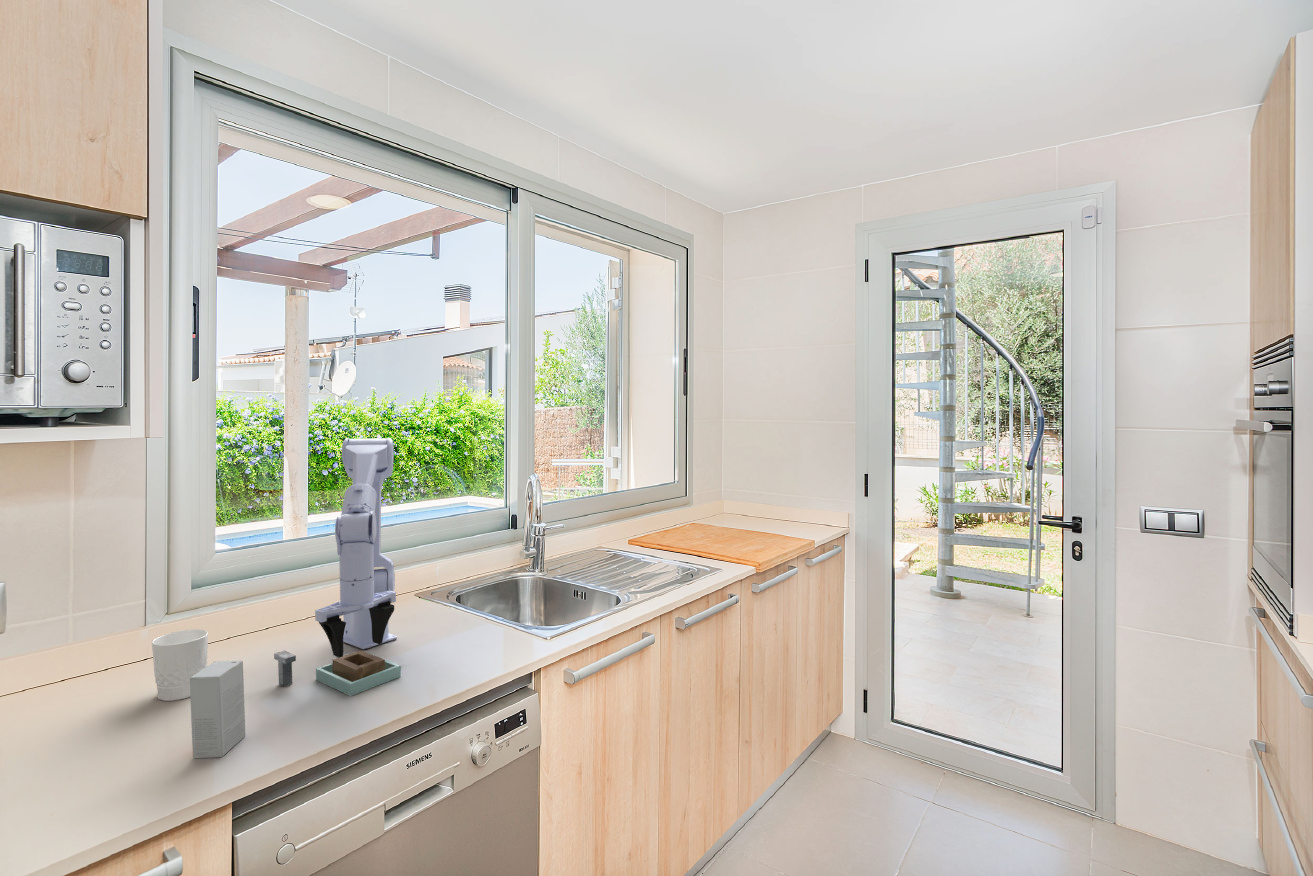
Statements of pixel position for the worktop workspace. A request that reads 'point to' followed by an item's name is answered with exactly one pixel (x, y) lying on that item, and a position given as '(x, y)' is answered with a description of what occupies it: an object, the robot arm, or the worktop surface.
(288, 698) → the worktop surface
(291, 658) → the t post
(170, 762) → the worktop surface
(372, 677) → the tray
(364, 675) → the frame ring
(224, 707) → the skincare box
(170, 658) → the white cup
